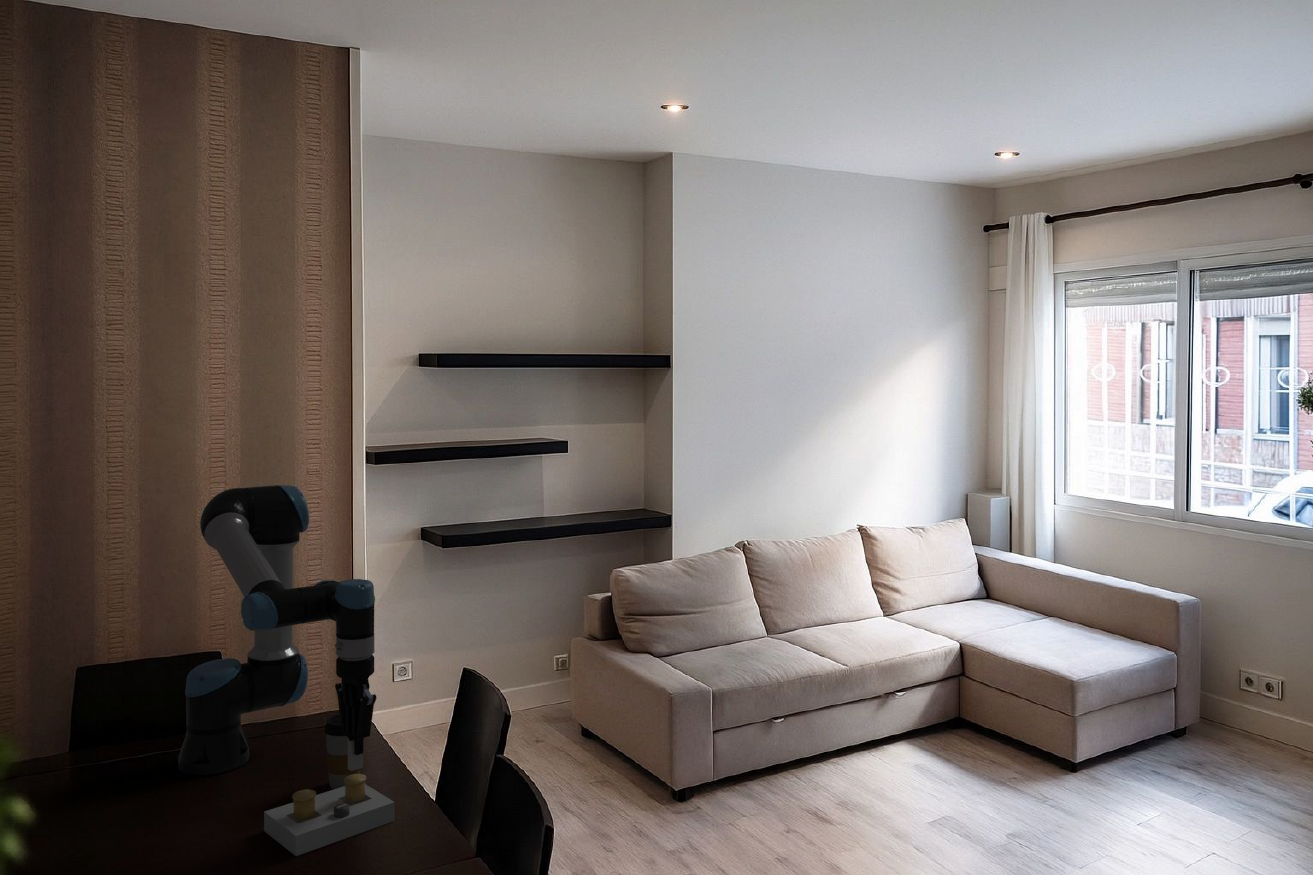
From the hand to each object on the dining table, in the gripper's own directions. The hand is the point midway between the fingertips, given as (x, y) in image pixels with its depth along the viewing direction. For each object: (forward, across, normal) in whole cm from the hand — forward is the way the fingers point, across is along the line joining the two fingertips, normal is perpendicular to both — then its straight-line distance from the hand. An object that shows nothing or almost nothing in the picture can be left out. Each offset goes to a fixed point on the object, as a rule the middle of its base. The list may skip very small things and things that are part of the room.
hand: (355, 767), depth 196 cm
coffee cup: (+11, -16, +6) cm, 20 cm away
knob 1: (+6, 0, -11) cm, 13 cm away
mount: (+11, 0, -6) cm, 12 cm away
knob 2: (+6, 0, 0) cm, 6 cm away
